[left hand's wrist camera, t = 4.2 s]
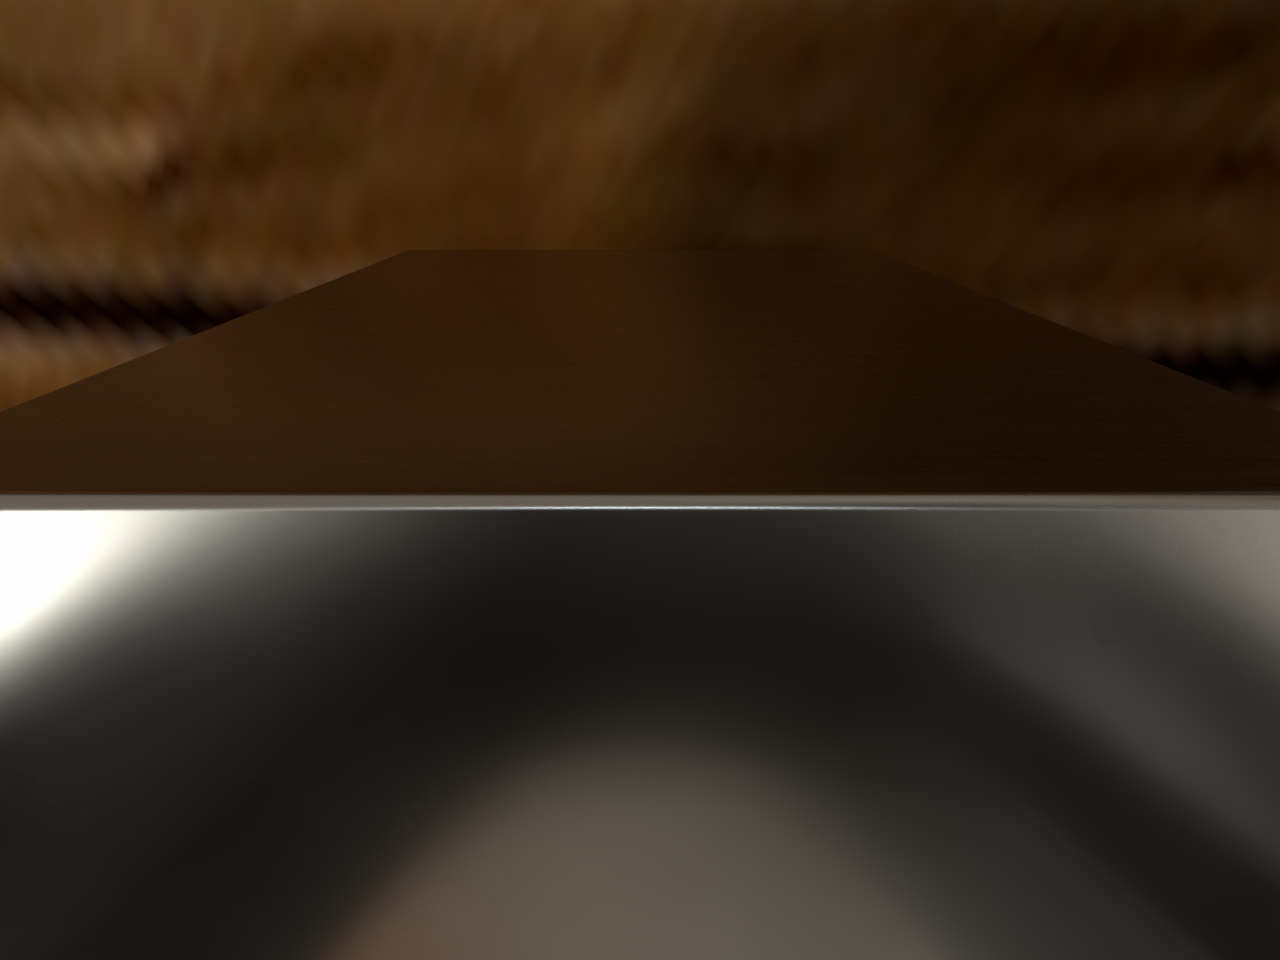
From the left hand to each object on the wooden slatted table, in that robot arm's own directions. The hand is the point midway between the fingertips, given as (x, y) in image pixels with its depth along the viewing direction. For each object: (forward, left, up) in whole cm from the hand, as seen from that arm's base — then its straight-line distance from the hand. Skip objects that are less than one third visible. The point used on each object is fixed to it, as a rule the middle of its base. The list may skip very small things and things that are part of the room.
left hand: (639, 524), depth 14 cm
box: (0, +10, -2) cm, 10 cm away
